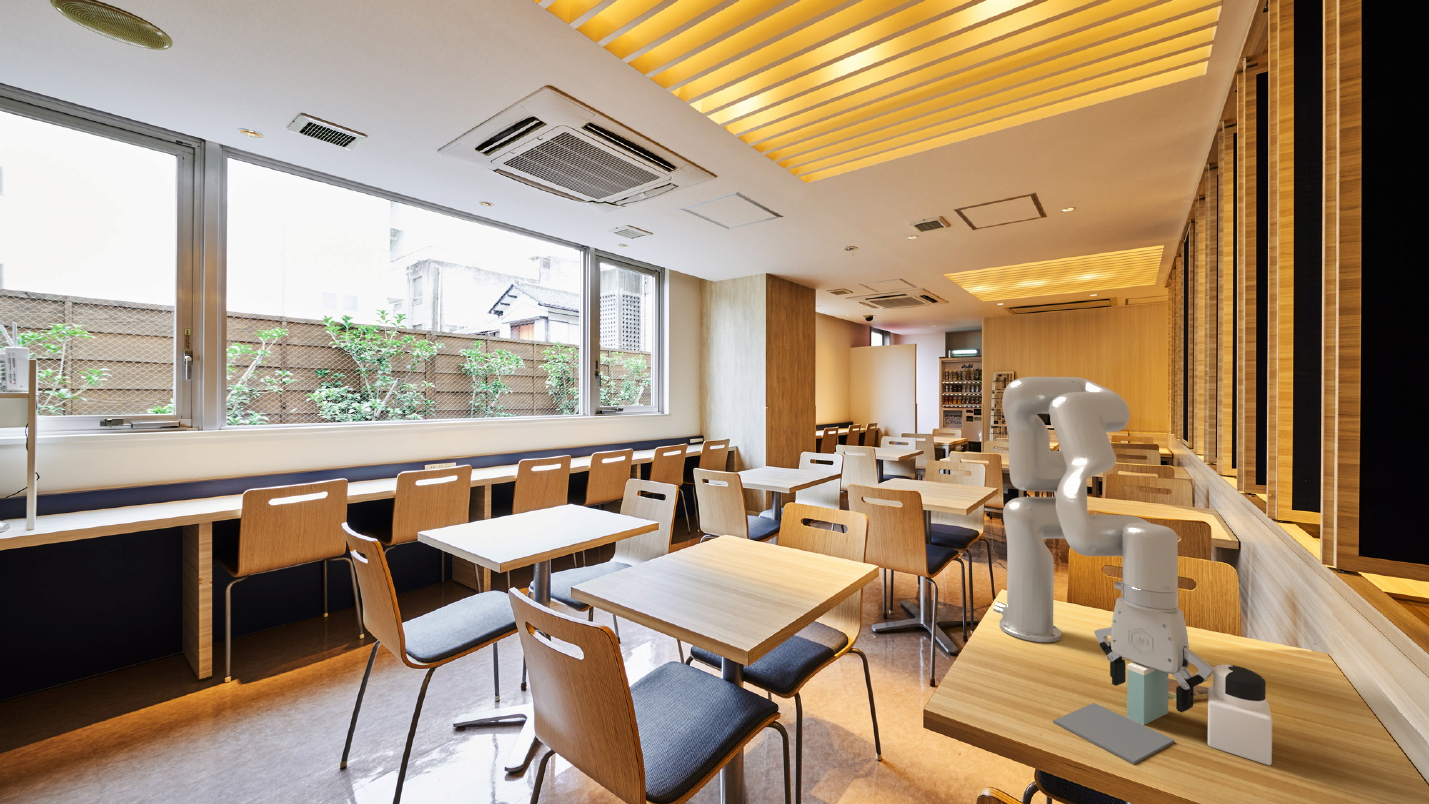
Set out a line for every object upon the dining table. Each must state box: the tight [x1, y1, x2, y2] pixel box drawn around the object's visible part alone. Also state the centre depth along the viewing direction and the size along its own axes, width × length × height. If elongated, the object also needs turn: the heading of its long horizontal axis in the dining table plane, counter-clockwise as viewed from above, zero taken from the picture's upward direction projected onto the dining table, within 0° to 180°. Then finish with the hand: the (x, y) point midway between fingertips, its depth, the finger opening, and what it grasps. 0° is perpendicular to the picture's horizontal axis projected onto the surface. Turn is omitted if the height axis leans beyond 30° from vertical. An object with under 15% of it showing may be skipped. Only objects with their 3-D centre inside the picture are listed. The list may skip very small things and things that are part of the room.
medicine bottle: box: [1207, 664, 1273, 766], centre depth 88 cm, size 7×7×12 cm
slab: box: [1126, 661, 1169, 726], centre depth 96 cm, size 2×8×9 cm, turn 117°
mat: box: [1052, 702, 1175, 765], centre depth 91 cm, size 12×12×1 cm
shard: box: [1168, 677, 1208, 701], centre depth 102 cm, size 11×8×2 cm
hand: (1149, 696), depth 96 cm, fingers open, 9 cm apart
